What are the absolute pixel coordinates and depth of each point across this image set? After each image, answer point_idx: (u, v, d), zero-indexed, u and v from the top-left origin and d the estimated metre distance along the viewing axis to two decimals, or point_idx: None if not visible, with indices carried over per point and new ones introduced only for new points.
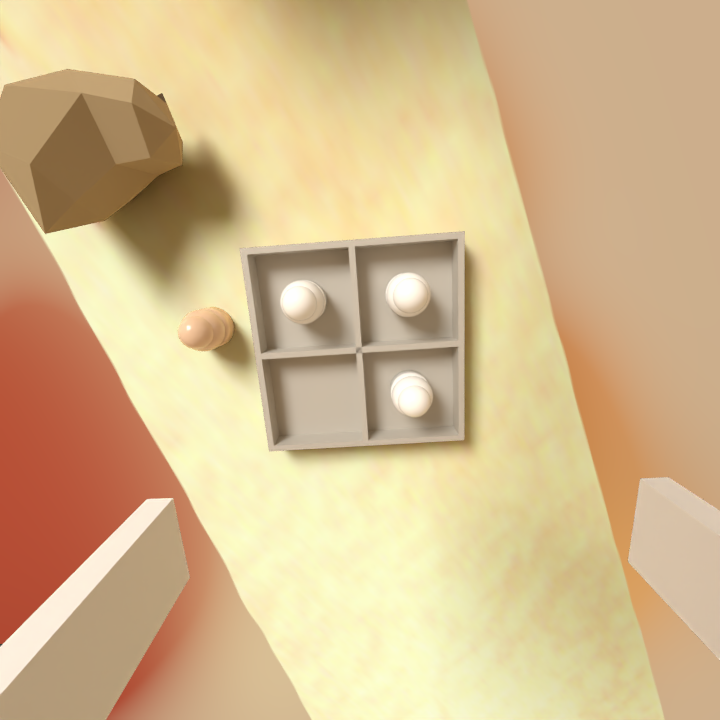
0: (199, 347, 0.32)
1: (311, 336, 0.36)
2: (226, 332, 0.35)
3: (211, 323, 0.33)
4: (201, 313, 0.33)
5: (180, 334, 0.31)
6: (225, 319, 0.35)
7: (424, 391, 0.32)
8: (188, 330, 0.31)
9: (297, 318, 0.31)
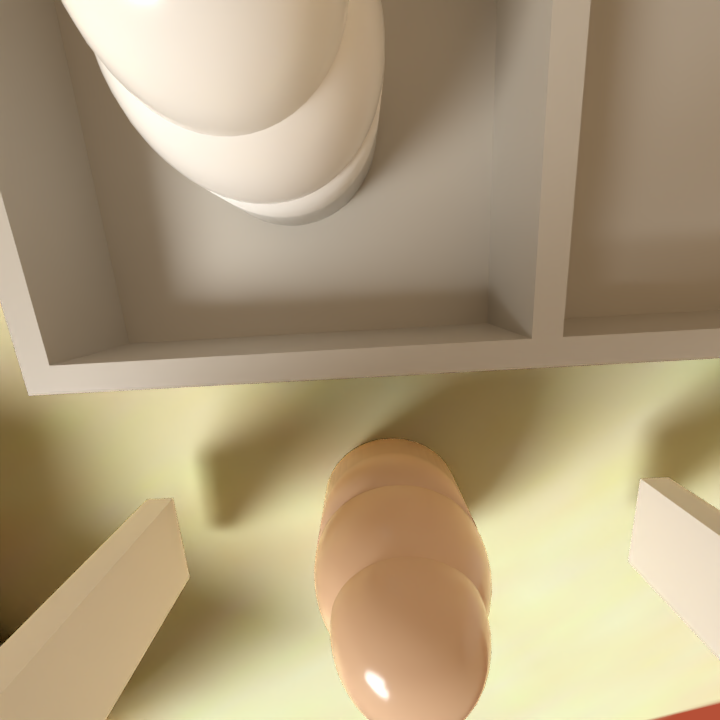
0: (487, 642, 0.06)
1: (448, 116, 0.08)
2: (414, 477, 0.08)
3: (367, 556, 0.07)
4: (323, 584, 0.07)
5: None
6: (361, 469, 0.09)
7: None
8: (394, 712, 0.05)
9: None
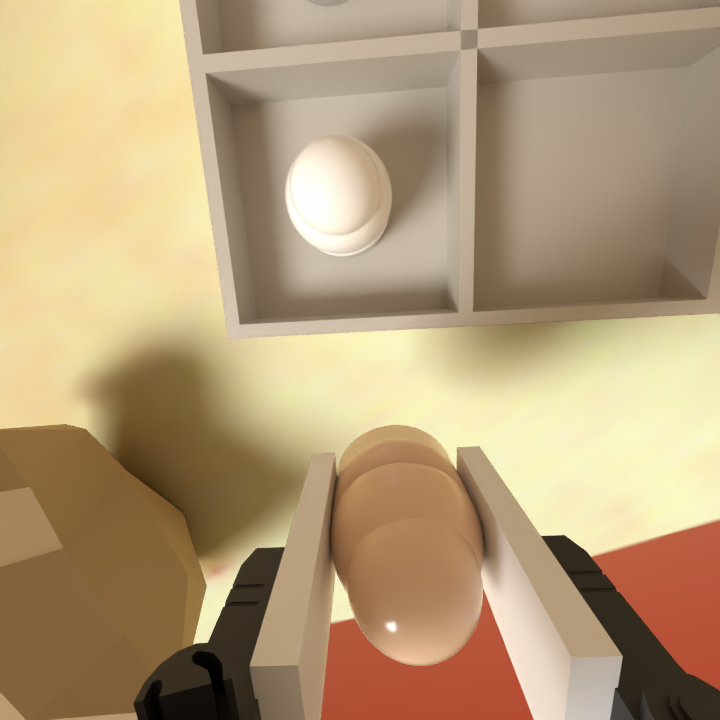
0: (479, 586, 0.07)
1: (424, 205, 0.16)
2: (416, 456, 0.10)
3: (378, 519, 0.08)
4: (339, 545, 0.09)
5: None
6: (369, 450, 0.10)
7: None
8: (402, 639, 0.07)
9: (370, 183, 0.11)
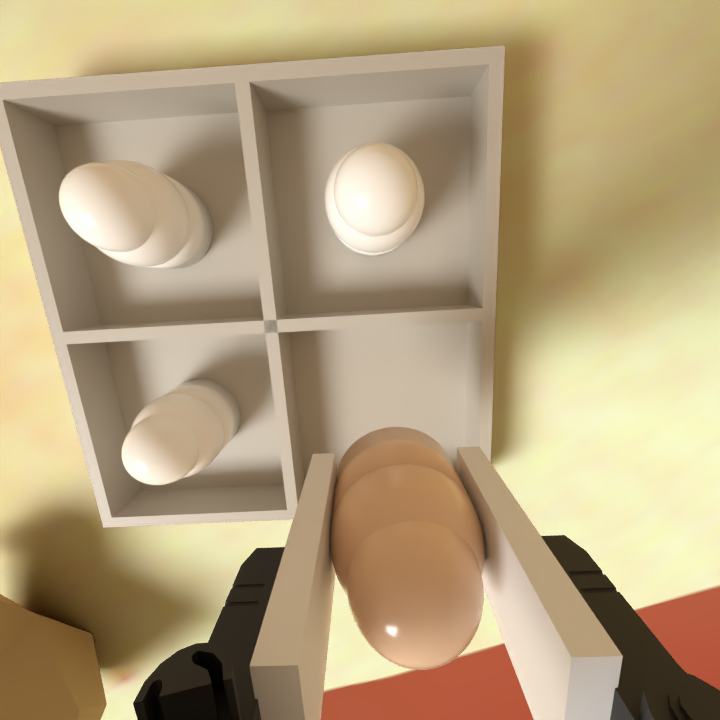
0: (480, 590, 0.07)
1: (269, 409, 0.19)
2: (417, 458, 0.10)
3: (378, 521, 0.08)
4: (339, 547, 0.08)
5: None
6: (369, 452, 0.10)
7: (343, 162, 0.12)
8: (403, 642, 0.07)
9: (180, 460, 0.15)
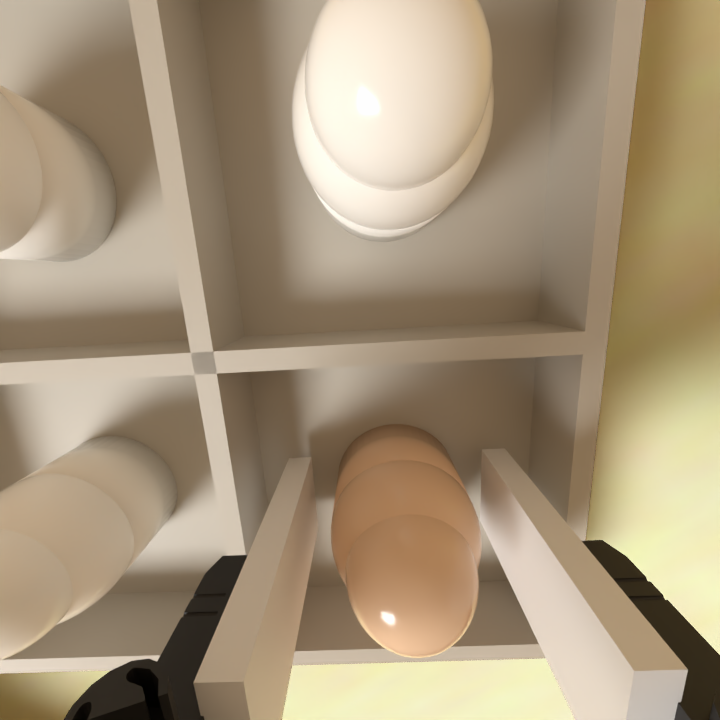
0: (475, 582, 0.08)
1: None
2: (416, 455, 0.10)
3: (376, 514, 0.08)
4: (339, 540, 0.09)
5: None
6: (369, 448, 0.11)
7: None
8: (399, 630, 0.07)
9: (21, 624, 0.08)
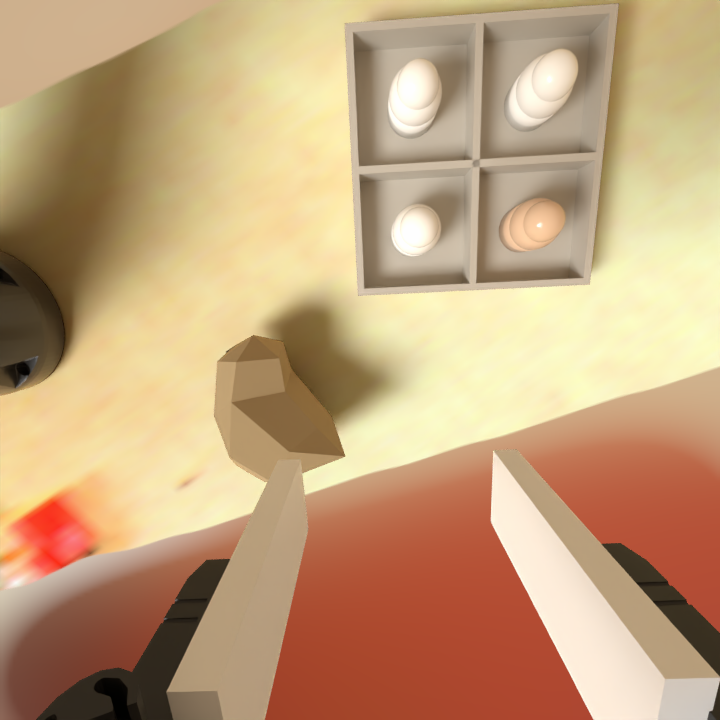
0: (565, 214, 0.27)
1: (452, 231, 0.32)
2: None
3: (534, 202, 0.28)
4: (519, 216, 0.28)
5: (549, 230, 0.27)
6: None
7: (542, 58, 0.25)
8: (547, 217, 0.26)
9: (436, 227, 0.27)
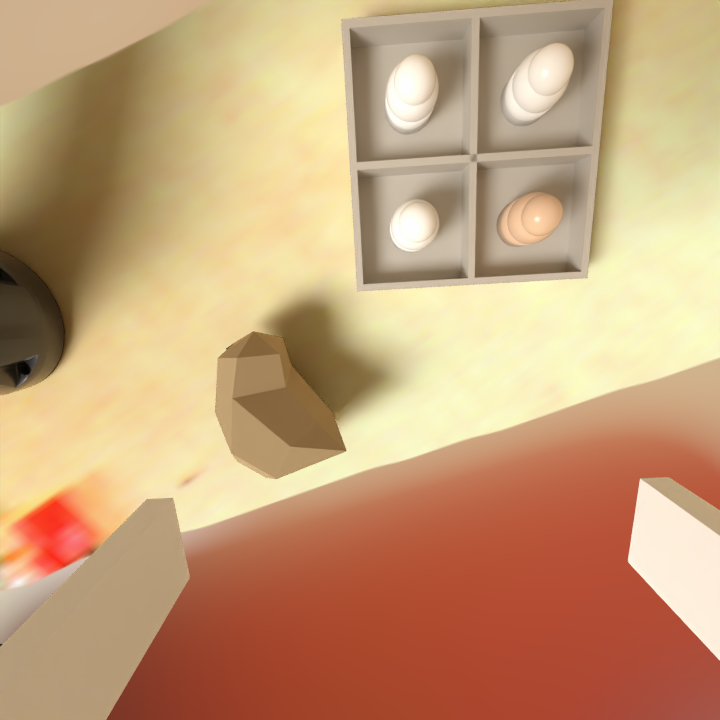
0: (562, 207, 0.27)
1: (450, 226, 0.32)
2: None
3: (531, 196, 0.28)
4: (517, 210, 0.28)
5: (547, 224, 0.27)
6: (516, 199, 0.30)
7: (538, 52, 0.25)
8: (545, 210, 0.27)
9: (434, 221, 0.27)
